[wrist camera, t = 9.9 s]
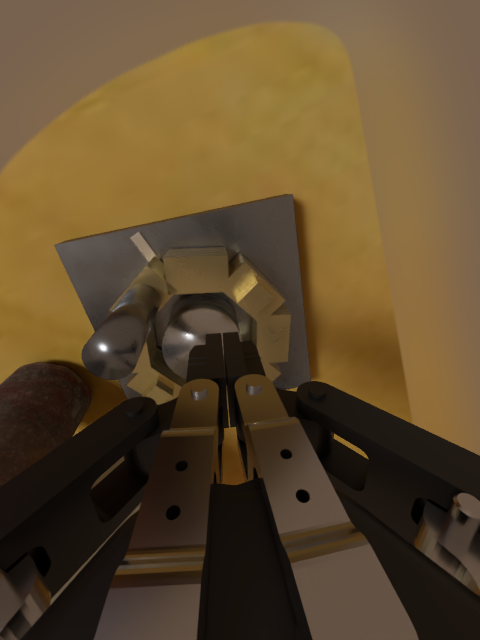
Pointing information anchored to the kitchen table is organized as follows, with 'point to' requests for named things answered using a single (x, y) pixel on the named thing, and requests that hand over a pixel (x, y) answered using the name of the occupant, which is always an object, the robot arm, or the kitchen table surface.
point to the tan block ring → (154, 292)
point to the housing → (200, 308)
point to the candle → (38, 414)
